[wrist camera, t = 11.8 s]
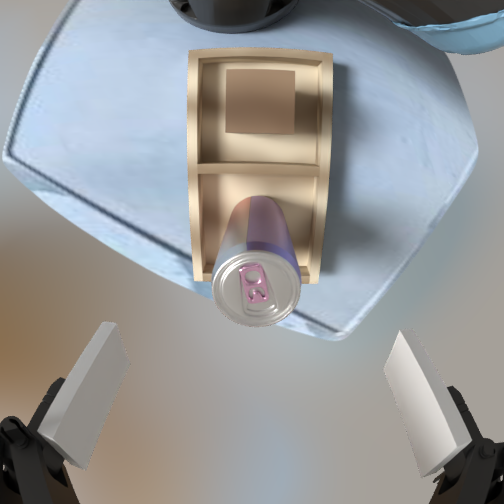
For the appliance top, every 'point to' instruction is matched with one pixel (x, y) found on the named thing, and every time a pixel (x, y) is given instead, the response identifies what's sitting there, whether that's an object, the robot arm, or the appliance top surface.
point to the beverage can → (256, 265)
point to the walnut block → (260, 101)
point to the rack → (258, 153)
